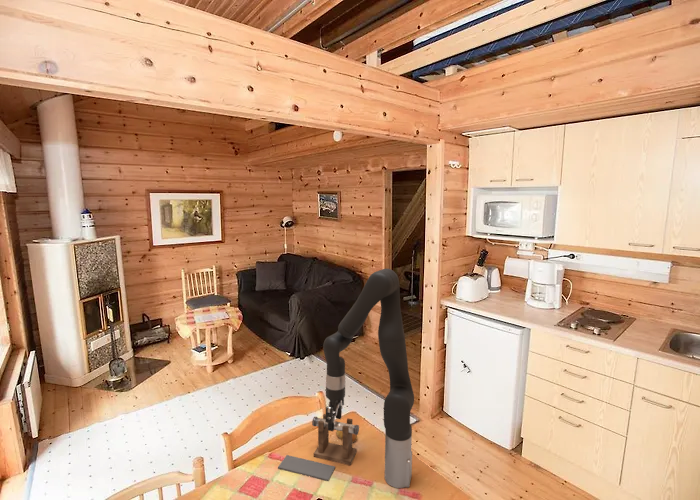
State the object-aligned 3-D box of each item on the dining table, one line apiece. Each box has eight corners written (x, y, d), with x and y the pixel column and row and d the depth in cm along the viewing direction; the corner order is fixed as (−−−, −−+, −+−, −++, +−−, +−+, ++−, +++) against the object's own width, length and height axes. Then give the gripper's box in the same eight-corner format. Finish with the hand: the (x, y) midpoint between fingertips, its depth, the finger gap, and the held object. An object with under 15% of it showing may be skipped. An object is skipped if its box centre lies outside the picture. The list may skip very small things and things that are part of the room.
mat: (335, 467, 132) (335, 466, 131) (328, 481, 125) (328, 479, 125) (286, 456, 138) (286, 454, 138) (277, 468, 131) (277, 467, 131)
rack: (356, 451, 140) (356, 418, 139) (350, 465, 133) (350, 430, 131) (321, 444, 145) (321, 411, 144) (313, 456, 137) (313, 422, 136)
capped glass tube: (359, 431, 137) (359, 423, 136) (356, 436, 134) (356, 428, 133) (315, 422, 142) (315, 414, 142) (312, 427, 139) (312, 419, 139)
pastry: (361, 438, 149) (361, 430, 149) (349, 446, 144) (349, 437, 144) (345, 429, 156) (345, 421, 155) (334, 436, 151) (334, 427, 150)
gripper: (338, 395, 128) (337, 437, 130) (350, 377, 142) (349, 416, 143) (319, 391, 130) (318, 432, 132) (332, 375, 144) (332, 412, 146)
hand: (334, 424), depth 138 cm, fingers open, 8 cm apart
